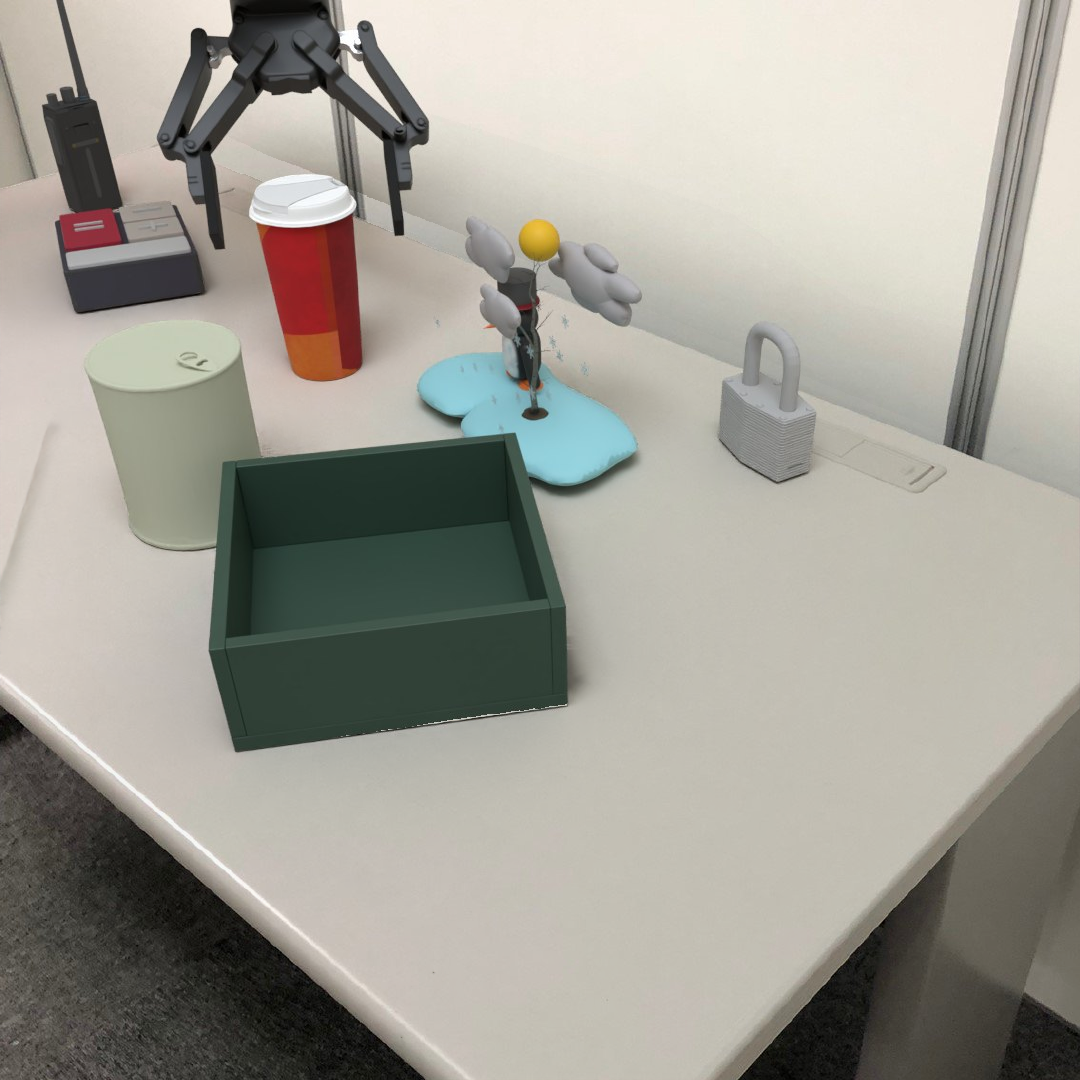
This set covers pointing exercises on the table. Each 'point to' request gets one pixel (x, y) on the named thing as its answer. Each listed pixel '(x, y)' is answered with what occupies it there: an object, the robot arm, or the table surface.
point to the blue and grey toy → (535, 358)
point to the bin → (382, 591)
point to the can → (173, 424)
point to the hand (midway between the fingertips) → (309, 235)
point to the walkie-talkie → (80, 140)
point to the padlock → (768, 410)
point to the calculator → (127, 256)
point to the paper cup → (312, 271)
